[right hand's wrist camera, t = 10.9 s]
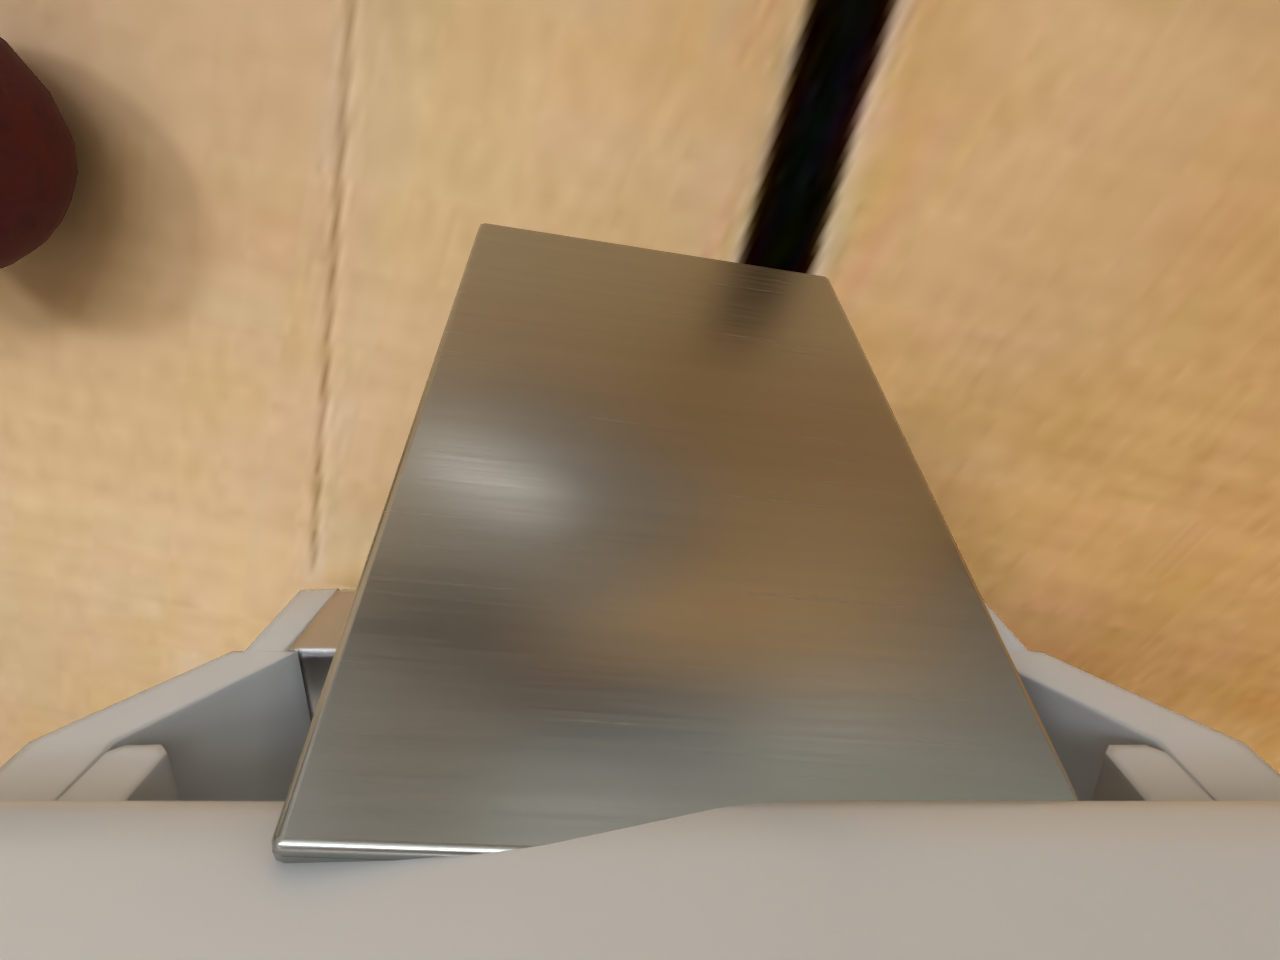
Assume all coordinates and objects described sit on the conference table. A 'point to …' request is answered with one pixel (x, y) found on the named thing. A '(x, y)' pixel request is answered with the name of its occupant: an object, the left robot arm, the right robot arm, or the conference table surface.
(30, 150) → the dark red ball
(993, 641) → the bar
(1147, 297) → the conference table surface
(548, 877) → the right robot arm
